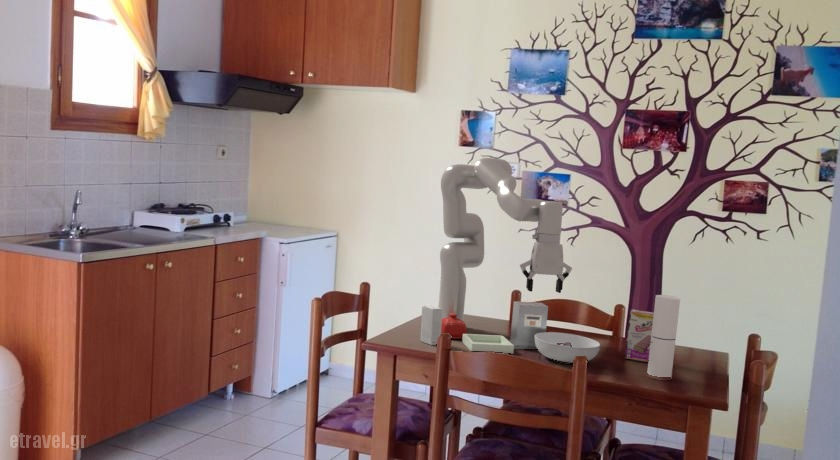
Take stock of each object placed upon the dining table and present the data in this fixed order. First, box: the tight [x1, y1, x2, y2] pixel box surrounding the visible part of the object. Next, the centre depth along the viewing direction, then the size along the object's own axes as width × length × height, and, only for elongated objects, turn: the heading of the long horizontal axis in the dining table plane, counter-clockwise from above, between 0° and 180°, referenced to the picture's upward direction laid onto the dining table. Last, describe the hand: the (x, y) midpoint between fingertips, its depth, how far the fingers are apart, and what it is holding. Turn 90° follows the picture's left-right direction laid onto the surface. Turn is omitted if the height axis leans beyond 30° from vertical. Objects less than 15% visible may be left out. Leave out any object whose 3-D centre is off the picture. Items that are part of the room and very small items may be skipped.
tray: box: [461, 333, 515, 355], centre depth 255 cm, size 14×14×3 cm
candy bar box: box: [624, 309, 654, 360], centre depth 254 cm, size 11×5×16 cm, turn 71°
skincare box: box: [420, 305, 442, 346], centre depth 254 cm, size 6×4×12 cm
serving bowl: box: [535, 331, 601, 364], centre depth 246 cm, size 21×21×7 cm
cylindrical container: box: [646, 294, 681, 378], centre depth 233 cm, size 7×7×25 cm
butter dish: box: [441, 313, 468, 340], centre depth 267 cm, size 12×12×8 cm
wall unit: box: [507, 300, 549, 350], centre depth 260 cm, size 9×12×15 cm
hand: (544, 291), depth 248 cm, fingers open, 9 cm apart
